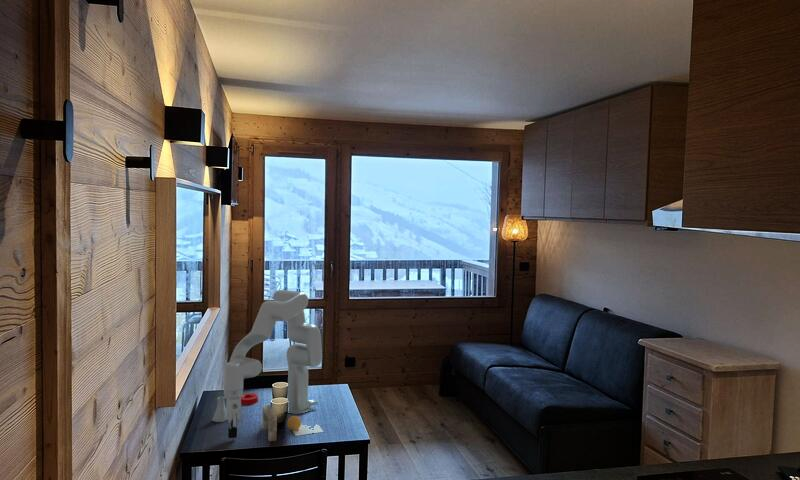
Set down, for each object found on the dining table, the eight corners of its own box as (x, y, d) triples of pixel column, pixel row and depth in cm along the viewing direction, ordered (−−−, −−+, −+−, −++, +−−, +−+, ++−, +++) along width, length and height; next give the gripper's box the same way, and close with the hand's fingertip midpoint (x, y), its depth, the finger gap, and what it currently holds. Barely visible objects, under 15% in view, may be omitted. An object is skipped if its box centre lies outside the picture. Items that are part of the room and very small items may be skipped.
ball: (285, 415, 226) (286, 429, 226) (288, 420, 220) (289, 433, 221) (298, 412, 228) (299, 425, 229) (302, 416, 223) (303, 430, 223)
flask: (223, 423, 230) (224, 401, 229) (208, 421, 231) (209, 399, 231) (232, 417, 237) (232, 396, 236) (217, 416, 238) (218, 394, 238)
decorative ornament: (259, 404, 256) (259, 397, 256) (239, 406, 252) (239, 400, 252) (255, 398, 265) (255, 391, 265) (236, 400, 260) (236, 394, 260)
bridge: (269, 427, 227) (269, 405, 226) (276, 440, 213) (276, 417, 213) (262, 428, 225) (262, 406, 225) (269, 441, 212) (269, 418, 212)
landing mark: (315, 422, 234) (315, 421, 234) (323, 432, 223) (323, 431, 223) (289, 425, 229) (289, 425, 229) (296, 436, 218) (296, 435, 218)
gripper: (245, 397, 206) (244, 443, 207) (240, 386, 220) (239, 429, 220) (226, 399, 203) (225, 445, 204) (221, 388, 217) (220, 431, 217)
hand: (232, 437), depth 212 cm, fingers closed
